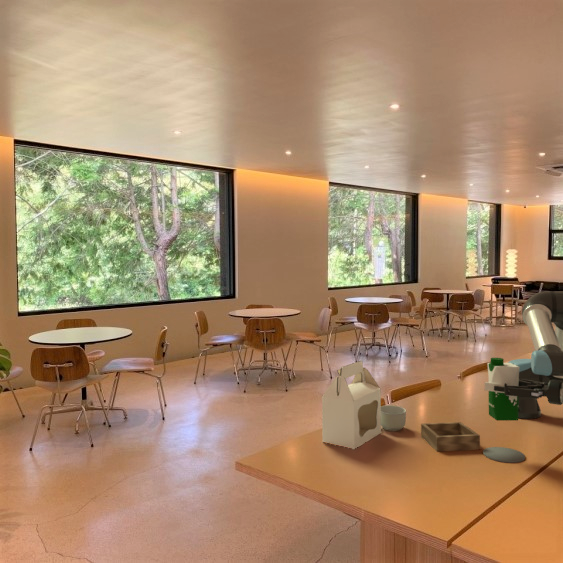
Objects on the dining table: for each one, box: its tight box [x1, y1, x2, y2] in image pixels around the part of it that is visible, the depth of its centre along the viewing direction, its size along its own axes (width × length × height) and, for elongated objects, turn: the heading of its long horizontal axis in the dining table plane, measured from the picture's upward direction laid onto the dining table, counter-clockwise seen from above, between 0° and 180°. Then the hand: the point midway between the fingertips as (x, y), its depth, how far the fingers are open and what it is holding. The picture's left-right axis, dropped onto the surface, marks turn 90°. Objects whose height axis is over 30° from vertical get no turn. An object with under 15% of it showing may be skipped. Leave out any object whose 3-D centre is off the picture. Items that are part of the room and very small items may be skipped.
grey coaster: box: [482, 446, 526, 464], centre depth 175 cm, size 13×13×1 cm
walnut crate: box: [420, 421, 481, 452], centre depth 188 cm, size 15×15×5 cm
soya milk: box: [487, 357, 520, 422], centre depth 174 cm, size 9×9×20 cm
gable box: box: [321, 360, 382, 450], centre depth 194 cm, size 22×13×28 cm, turn 144°
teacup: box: [381, 404, 407, 432], centre depth 205 cm, size 14×11×8 cm
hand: (489, 383), depth 177 cm, fingers closed on soya milk, 9 cm apart
